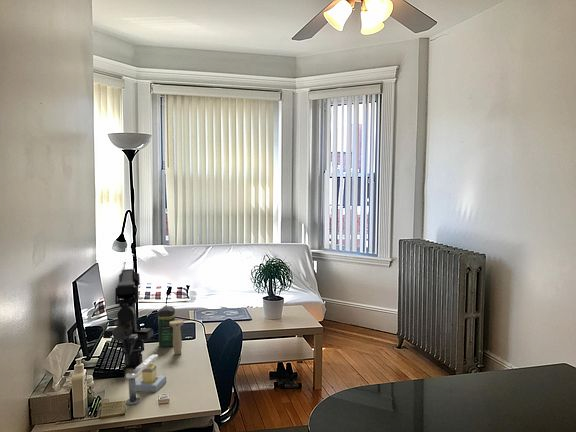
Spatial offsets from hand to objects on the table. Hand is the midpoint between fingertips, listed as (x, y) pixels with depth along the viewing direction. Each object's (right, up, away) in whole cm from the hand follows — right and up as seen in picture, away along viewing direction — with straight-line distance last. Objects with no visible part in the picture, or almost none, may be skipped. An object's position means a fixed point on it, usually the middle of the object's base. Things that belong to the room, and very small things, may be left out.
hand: (129, 354), depth 192 cm
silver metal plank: (+7, -3, -6) cm, 10 cm away
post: (+6, -13, -14) cm, 20 cm away
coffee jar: (+3, -9, +49) cm, 50 cm away
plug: (+8, -12, 0) cm, 15 cm away
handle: (+11, -10, +35) cm, 38 cm away
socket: (+8, -12, 0) cm, 15 cm away
